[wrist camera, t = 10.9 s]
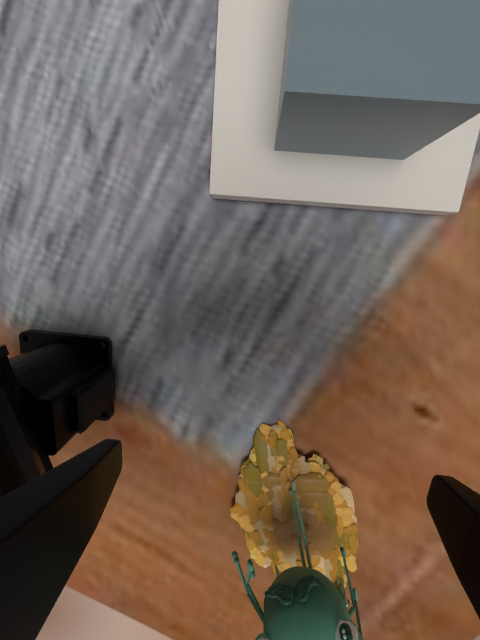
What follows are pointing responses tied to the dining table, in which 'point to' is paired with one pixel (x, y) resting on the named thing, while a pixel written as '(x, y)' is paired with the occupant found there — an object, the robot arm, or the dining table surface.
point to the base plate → (309, 168)
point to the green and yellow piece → (297, 540)
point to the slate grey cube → (377, 75)
